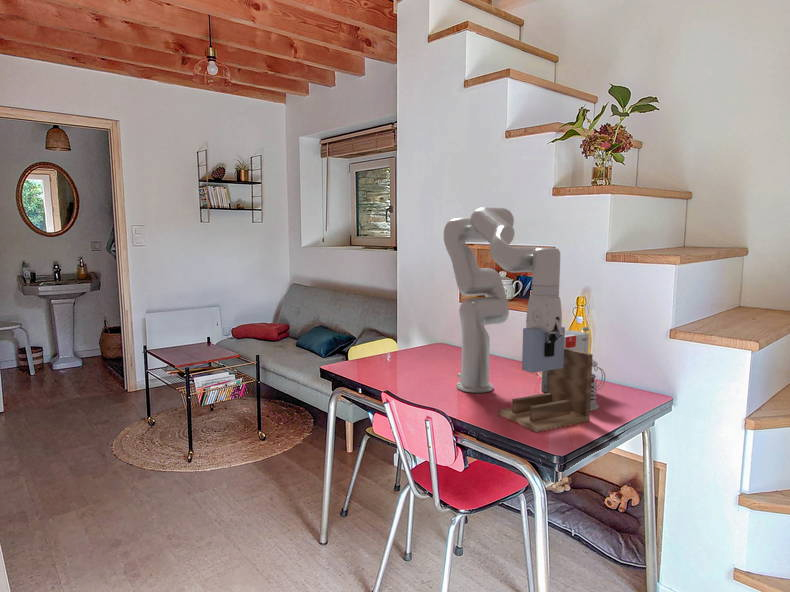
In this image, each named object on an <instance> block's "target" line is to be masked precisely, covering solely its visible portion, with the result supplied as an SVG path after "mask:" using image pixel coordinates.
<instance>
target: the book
mask: <svg viewBox="0 0 790 592" xmlns="http://www.w3.org/2000/svg"><path fill="white" fill-rule="evenodd" d="M561 328H562V330H563V333H564V334H563V335H562V336H561V337H559V338H558V339H557V342H556V343H555V348H554V356H551V357H545V356H544V354H545V343H547V342H546V333H544V332H542V330H541V329H536V328H526V327H524V328H522V352H521V353H522V354H521V355H522V356H521V358H522V359H521V370H522V371H525V372H527V373H530V374H531V373H532V374H533V373H539V372H541V373H542V371H547V370H554V369H560V368H563V366H564V338H565V331H566V327H565V326H561ZM551 336H552V334H550V337H551Z"/></svg>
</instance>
